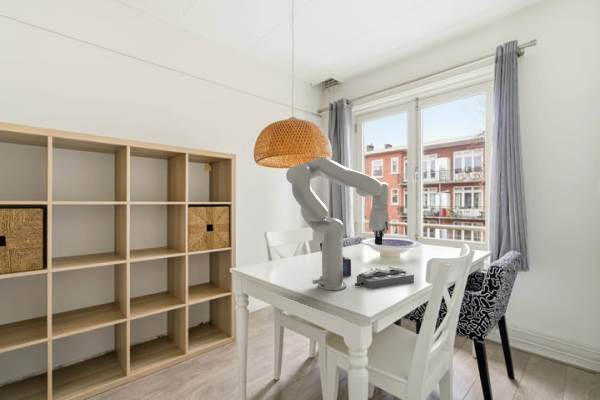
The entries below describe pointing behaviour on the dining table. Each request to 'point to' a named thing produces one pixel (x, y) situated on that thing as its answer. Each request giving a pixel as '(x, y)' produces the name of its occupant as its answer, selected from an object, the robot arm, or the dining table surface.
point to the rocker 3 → (395, 268)
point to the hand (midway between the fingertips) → (378, 244)
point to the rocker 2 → (382, 270)
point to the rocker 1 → (369, 272)
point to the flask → (346, 266)
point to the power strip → (384, 279)
